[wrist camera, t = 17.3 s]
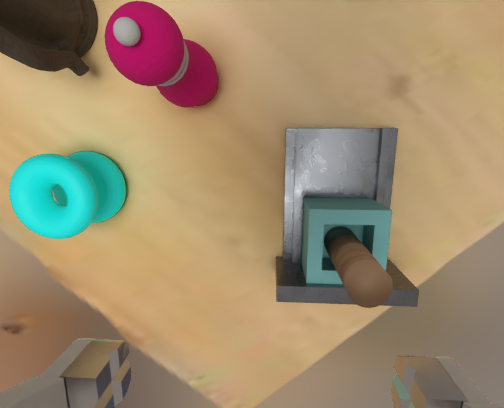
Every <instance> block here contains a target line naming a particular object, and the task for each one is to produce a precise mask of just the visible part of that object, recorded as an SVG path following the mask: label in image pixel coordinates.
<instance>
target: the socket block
mask: <svg viewBox="0 0 504 408" xmlns="http://www.w3.org/2000/svg"><path fill="white" fill-rule="evenodd" d="M391 216H392V210H390V209H389V208H387V207H385V206H384V205H382V204H380V203H379V202H377V201H375V200H374V199H372V198H309V197H303V222H302V248H301V262H302V266H303V271H304V275H305V279H306V283H313V284H343V283H342V281H341V279H340V277H339V275H338V273H337V271H336V269H335V267H334V265H333V263H332V261H331V259H330V257H329V255H328V253H327V251H326V249H325V246H324V237H325V235H326V234H327V232H328V231H329V230H331V229H332V228H334V227H338V226H342V227H346V228H348V229H350V230H351V231H352V232H353V233H354V234H355V235H356V237H357V238H358V239H359V240H360V241H361V242H362V244H363V245H364V246H365V247H366V248H367V249H368V251H369V252H370V253H371V254H372V255H373V257H374V258H375V259H376V260H377V261H378V262H379V264H380V265H381V266H382V267H383V268H384V269H385V271H386V265H387V255H388V245H389V236H390V226H391Z"/></svg>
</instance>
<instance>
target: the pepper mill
mask: <svg viewBox="0 0 504 408" xmlns="http://www.w3.org/2000/svg"><path fill="white" fill-rule="evenodd" d="M105 45H106V49H107V52H108V55H109V57H110V60H111V61H112V63H113V64H114V66H115V67H116V68H117V70H118V71H119V72H120V73H121V74H122V75H124V76H125V77H126V78H128V79H129V80H131V81H133V82H135V83H137V84H141V85H146V86H157V88H158V90H159V91H160V93H161V94H162V95H163V96H164V97H165V98H166V99H167V100H169V101H170V102H172V103H173V104H175V105H178V106H181V107H194V106H201V105H204V104H206V103H208V102H209V101H210V100H211V99H212V98H213V97H214V96H215V94H216V91H217V89H218V75H217V72H216V66H215V63H214V61H213V59H212V57H211V56H210V54H209V53H208V52H207V51H206V50H205V49H204V48H203V47H202V46H200V45H199V44H197V43H195V42H193V41H190V40H185V39H183V36H182V33H181V31H180V29H179V27H178V25H177V24H176V22H175V20H174V19H173V18H172V17H171V16H170V15H169V14H168V13H167V12H166V11H164V10H163V9H162V8H160V7H158V6H156V5H154V4H152V3H148V2H144V1H133V2H128V3H126V4H124V5H122V6H121V7H119V8H118V9H117V10H116V11H115V12H114V13H113V14H112V16H111V17H110V19H109V20H108V23H107V26H106V30H105Z"/></svg>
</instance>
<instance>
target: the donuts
mask: <svg viewBox="0 0 504 408" xmlns="http://www.w3.org/2000/svg"><path fill="white" fill-rule="evenodd" d="M52 190H53V192H54V195H55V198H56V200H57V202H58V203H57V202H56V201H55V200H54V198H53V194H52ZM9 193H10V200H11V204H12V207H13V209H14V212H15V213H16V215H17V217H18V218H19V219H20V221H21V222H22V223H23V224H24V225H25V226H26V227H27V228H29V229H30V230H31V231H33V232H35V233H37V234H39V235H41V236H44V237H48V238H53V239H63V238H69V237H73V236H75V235H77V234H79V233H81V232H82V231H84V230H85V229H86V228H87V227H88V226H89V225H90V224H91V223H97V222H103V221H105V220H108V219H110V218H111V217H113V216H114V215H115V214H116V213H117V212H118V211H119V210H120V209H121V207H122V205H123V203H124V201H125V197H126V184H125V180H124V177H123V175H122V173H121V171H120V170H119V168H118V167H117V166H116V164H115V163H114V162H113V161H111V160H110V159H109V158H107V157H105V156H104V155H101V154H99V153H95V152H90V151H82V152H77V153H74V154H71V155H69V156H67V157H65V156H61V155H57V154H41V155H37V156H34V157H32V158H29V159H28V160H26V161H24V162H23V163H22V164H21V165H20V166H19V167H18V168H17V169H16V171H15V172H14V174H13V176H12V179H11V182H10V189H9Z"/></svg>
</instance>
